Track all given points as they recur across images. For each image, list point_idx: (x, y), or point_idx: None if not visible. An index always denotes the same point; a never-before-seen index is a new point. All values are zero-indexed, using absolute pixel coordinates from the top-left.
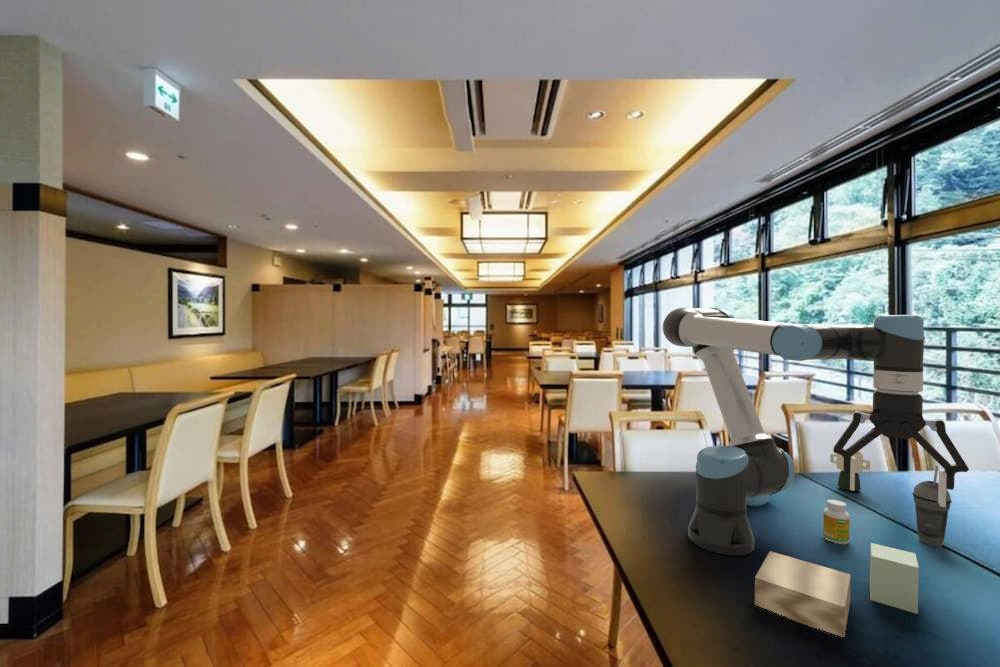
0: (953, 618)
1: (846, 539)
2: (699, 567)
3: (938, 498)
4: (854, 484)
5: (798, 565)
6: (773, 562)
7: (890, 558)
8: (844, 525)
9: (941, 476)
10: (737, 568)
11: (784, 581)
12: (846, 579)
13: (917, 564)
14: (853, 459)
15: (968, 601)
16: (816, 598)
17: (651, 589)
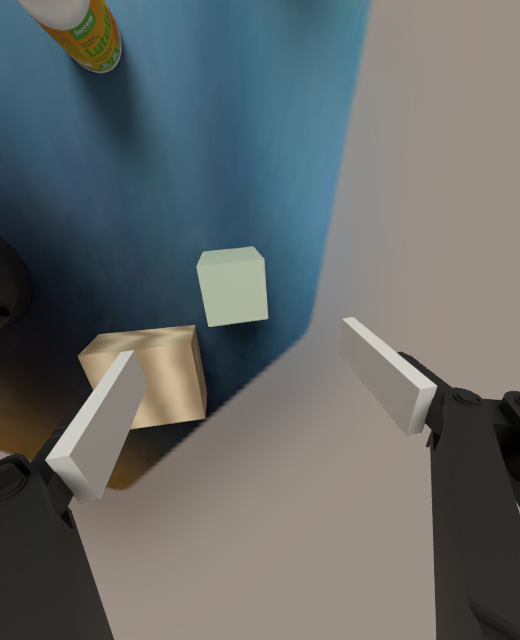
0: (289, 273)
1: (116, 50)
2: (24, 379)
3: (347, 328)
4: (140, 399)
5: None
6: None
7: (232, 315)
8: (94, 30)
9: (396, 421)
10: (56, 345)
11: (139, 416)
12: (190, 361)
13: (266, 308)
14: (92, 499)
15: (311, 202)
16: (179, 421)
17: (37, 450)
